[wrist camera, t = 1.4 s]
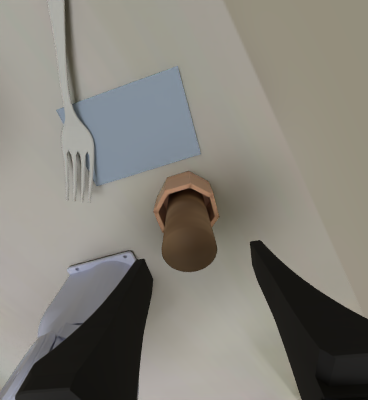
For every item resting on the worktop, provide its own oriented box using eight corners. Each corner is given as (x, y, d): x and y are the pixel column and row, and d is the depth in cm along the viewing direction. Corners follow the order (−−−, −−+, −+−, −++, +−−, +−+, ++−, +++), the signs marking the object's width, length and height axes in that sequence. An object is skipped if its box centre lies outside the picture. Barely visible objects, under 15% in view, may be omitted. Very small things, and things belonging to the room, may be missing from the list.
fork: (63, -159, 12) (44, -202, 10) (100, 196, 21) (93, 203, 20) (10, -166, 12) (-17, -212, 10) (71, 195, 21) (62, 201, 20)
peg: (174, 218, 23) (171, 276, 15) (163, 189, 21) (153, 236, 13) (206, 209, 23) (222, 264, 14) (197, 178, 21) (209, 221, 13)
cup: (169, 225, 24) (167, 245, 20) (152, 181, 21) (146, 195, 18) (216, 212, 23) (223, 231, 20) (204, 166, 21) (209, 177, 17)
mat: (97, 185, 22) (96, 186, 21) (58, 110, 18) (56, 110, 18) (200, 153, 20) (200, 154, 20) (177, 66, 17) (177, 65, 17)
